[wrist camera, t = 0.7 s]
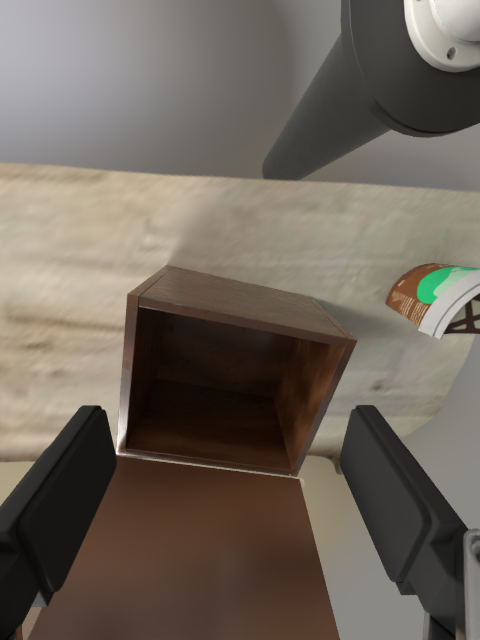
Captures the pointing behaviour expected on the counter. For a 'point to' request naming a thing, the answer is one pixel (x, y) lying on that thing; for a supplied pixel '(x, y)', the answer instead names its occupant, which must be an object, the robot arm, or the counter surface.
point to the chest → (226, 372)
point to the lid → (193, 561)
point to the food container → (439, 299)
